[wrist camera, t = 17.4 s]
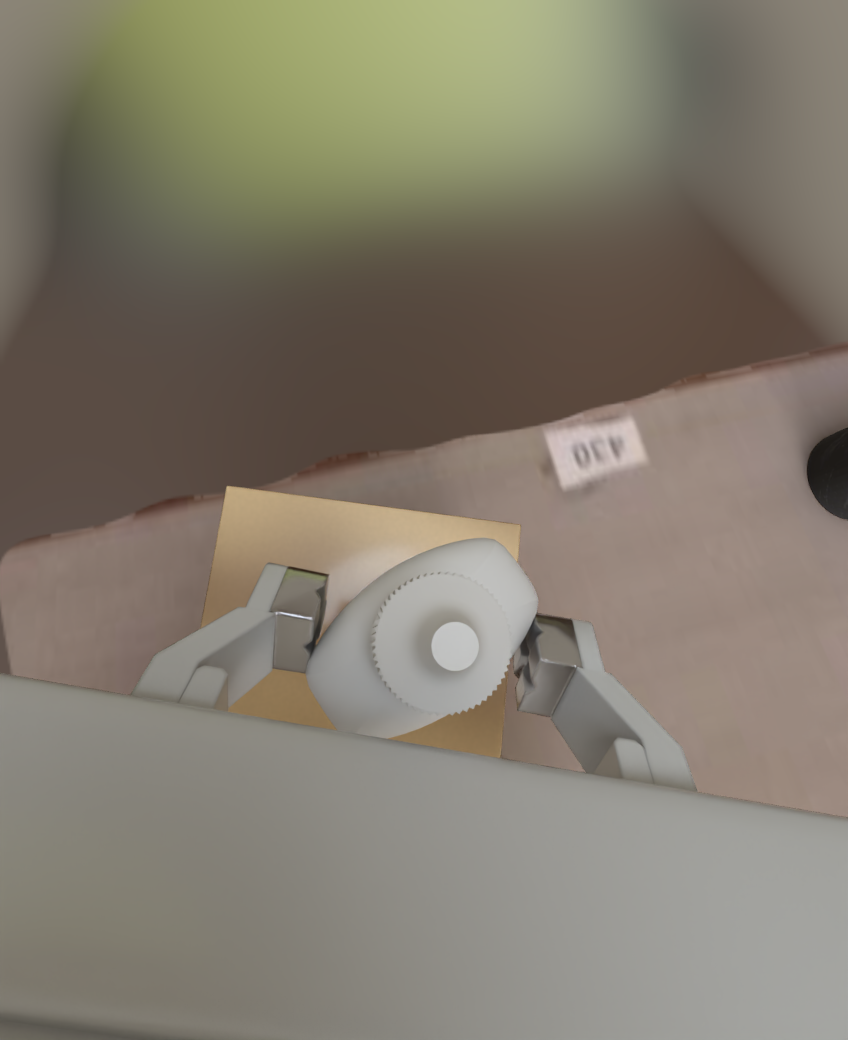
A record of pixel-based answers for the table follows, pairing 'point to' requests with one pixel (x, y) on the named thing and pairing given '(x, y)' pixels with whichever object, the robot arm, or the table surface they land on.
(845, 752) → the table surface
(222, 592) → the plywood crate
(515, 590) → the eye dropper bottle
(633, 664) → the table surface
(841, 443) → the travel mug
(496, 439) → the table surface
